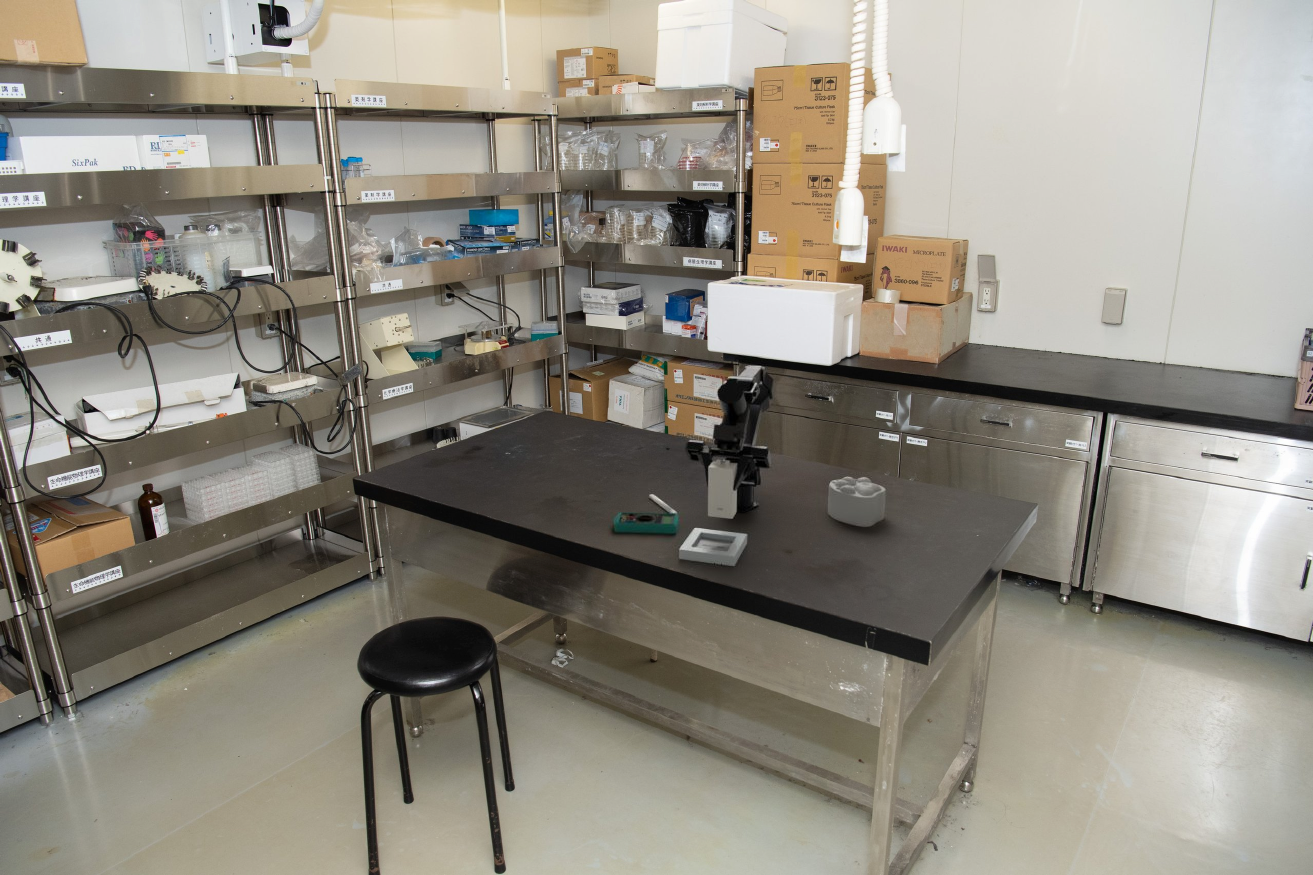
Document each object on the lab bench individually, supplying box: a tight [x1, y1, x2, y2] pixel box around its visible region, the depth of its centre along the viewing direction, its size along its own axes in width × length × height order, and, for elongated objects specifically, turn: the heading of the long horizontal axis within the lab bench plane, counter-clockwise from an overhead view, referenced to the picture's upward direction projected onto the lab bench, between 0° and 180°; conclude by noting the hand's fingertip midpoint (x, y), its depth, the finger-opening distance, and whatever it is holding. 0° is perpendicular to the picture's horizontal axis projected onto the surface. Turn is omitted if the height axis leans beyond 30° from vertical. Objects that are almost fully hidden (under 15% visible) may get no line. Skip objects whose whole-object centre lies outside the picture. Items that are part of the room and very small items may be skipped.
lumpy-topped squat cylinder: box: [827, 476, 887, 528], centre depth 205 cm, size 10×13×9 cm
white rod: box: [649, 493, 678, 515], centre depth 212 cm, size 13×1×1 cm, turn 26°
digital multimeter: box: [613, 511, 679, 535], centre depth 200 cm, size 7×15×3 cm, turn 85°
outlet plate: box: [678, 527, 748, 567], centre depth 187 cm, size 12×12×2 cm
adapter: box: [707, 458, 737, 520], centre depth 190 cm, size 4×6×13 cm
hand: (721, 488), depth 189 cm, fingers closed on adapter, 5 cm apart
